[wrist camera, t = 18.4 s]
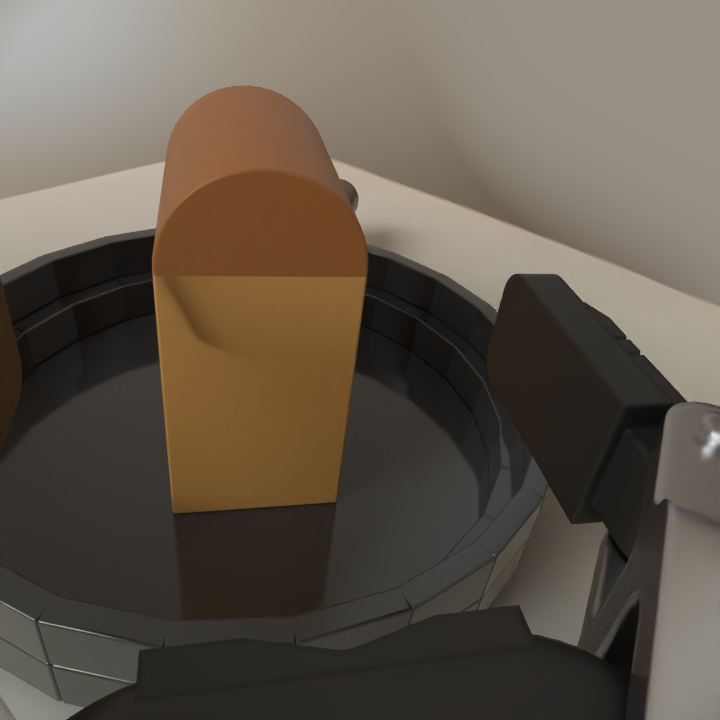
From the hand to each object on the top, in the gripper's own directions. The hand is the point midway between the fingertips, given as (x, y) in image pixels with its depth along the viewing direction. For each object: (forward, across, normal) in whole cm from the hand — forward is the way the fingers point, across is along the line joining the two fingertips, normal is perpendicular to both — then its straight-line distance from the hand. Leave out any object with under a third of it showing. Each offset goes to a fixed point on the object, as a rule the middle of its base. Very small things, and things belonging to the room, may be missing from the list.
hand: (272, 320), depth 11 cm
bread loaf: (+7, 0, +8) cm, 11 cm away
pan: (+7, 0, +9) cm, 11 cm away
